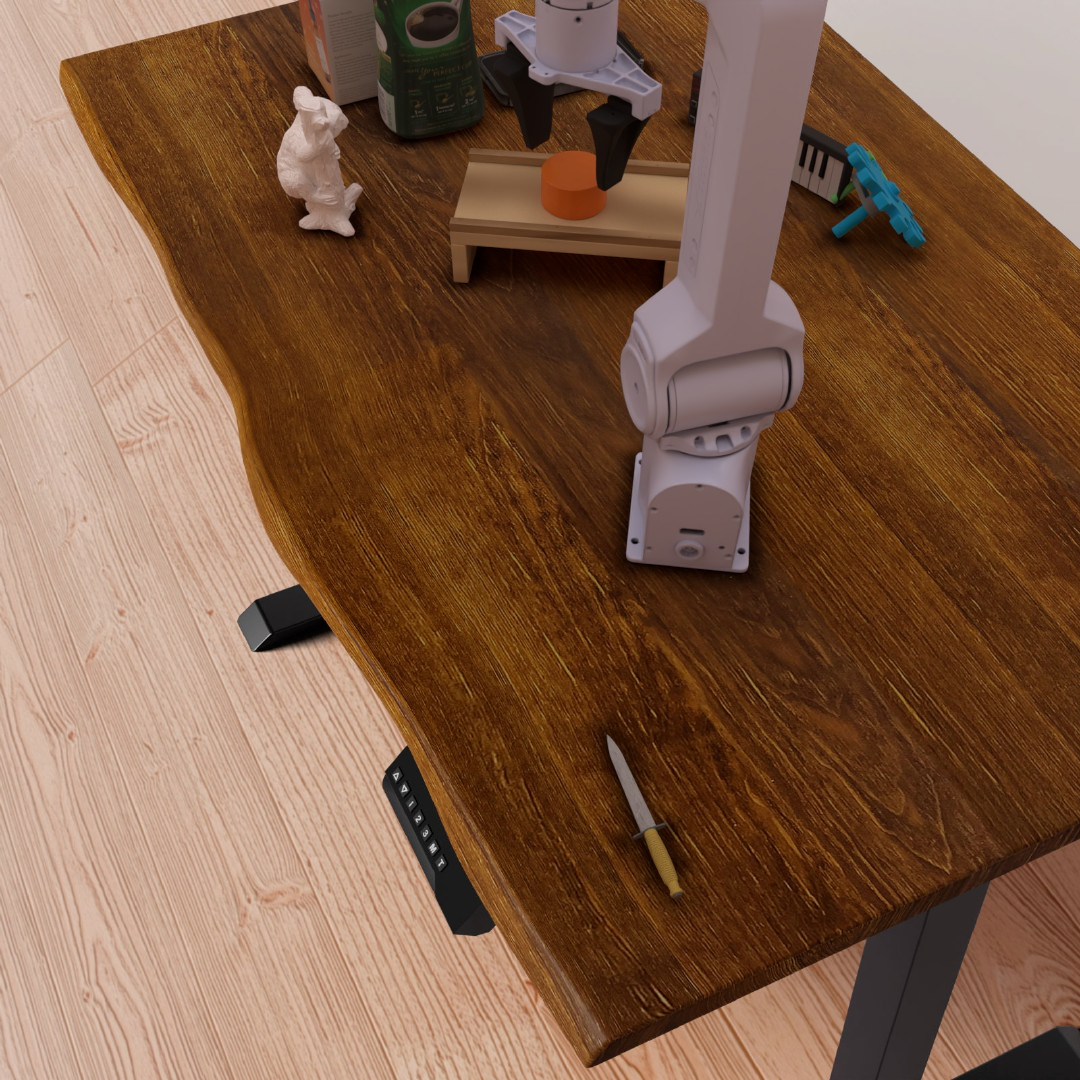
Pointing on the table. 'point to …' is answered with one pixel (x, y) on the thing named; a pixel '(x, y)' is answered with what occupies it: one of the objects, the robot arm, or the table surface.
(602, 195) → the disc
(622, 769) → the dagger
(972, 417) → the table surface
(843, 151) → the midi keyboard
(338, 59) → the small box
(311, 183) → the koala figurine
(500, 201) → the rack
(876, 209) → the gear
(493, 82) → the phone
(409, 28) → the coffee jar
